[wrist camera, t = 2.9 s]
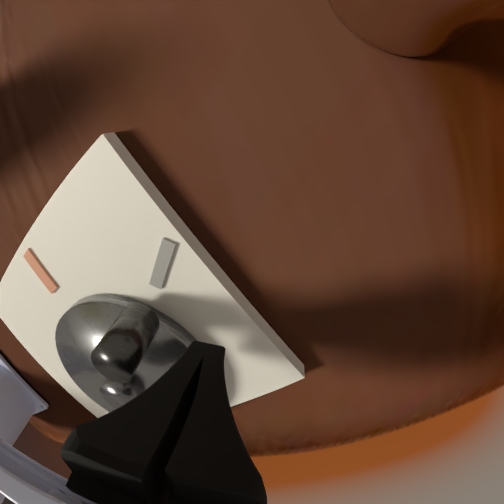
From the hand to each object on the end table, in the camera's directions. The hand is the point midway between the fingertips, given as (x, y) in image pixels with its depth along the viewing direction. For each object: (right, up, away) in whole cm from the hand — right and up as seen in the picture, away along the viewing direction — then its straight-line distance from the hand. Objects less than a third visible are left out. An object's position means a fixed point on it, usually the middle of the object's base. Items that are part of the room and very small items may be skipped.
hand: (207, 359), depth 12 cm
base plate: (-7, 0, +4) cm, 8 cm away
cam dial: (-5, -3, +4) cm, 7 cm away
